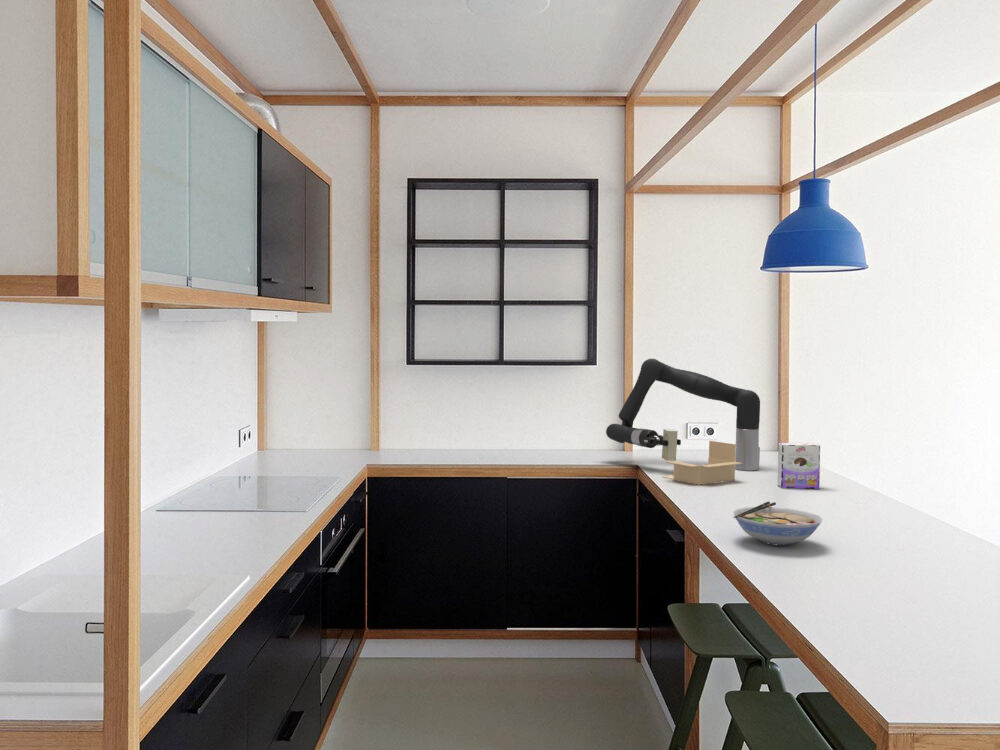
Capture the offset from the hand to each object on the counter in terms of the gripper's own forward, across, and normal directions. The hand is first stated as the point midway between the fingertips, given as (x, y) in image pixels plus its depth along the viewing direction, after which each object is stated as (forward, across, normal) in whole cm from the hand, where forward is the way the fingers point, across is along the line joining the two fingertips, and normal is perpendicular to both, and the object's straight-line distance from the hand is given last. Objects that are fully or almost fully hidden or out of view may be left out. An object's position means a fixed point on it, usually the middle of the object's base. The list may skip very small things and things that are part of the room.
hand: (673, 443), depth 329 cm
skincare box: (-2, 0, +7) cm, 8 cm away
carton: (+15, -2, +12) cm, 20 cm away
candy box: (+45, +19, +12) cm, 50 cm away
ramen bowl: (+93, -58, +12) cm, 111 cm away
